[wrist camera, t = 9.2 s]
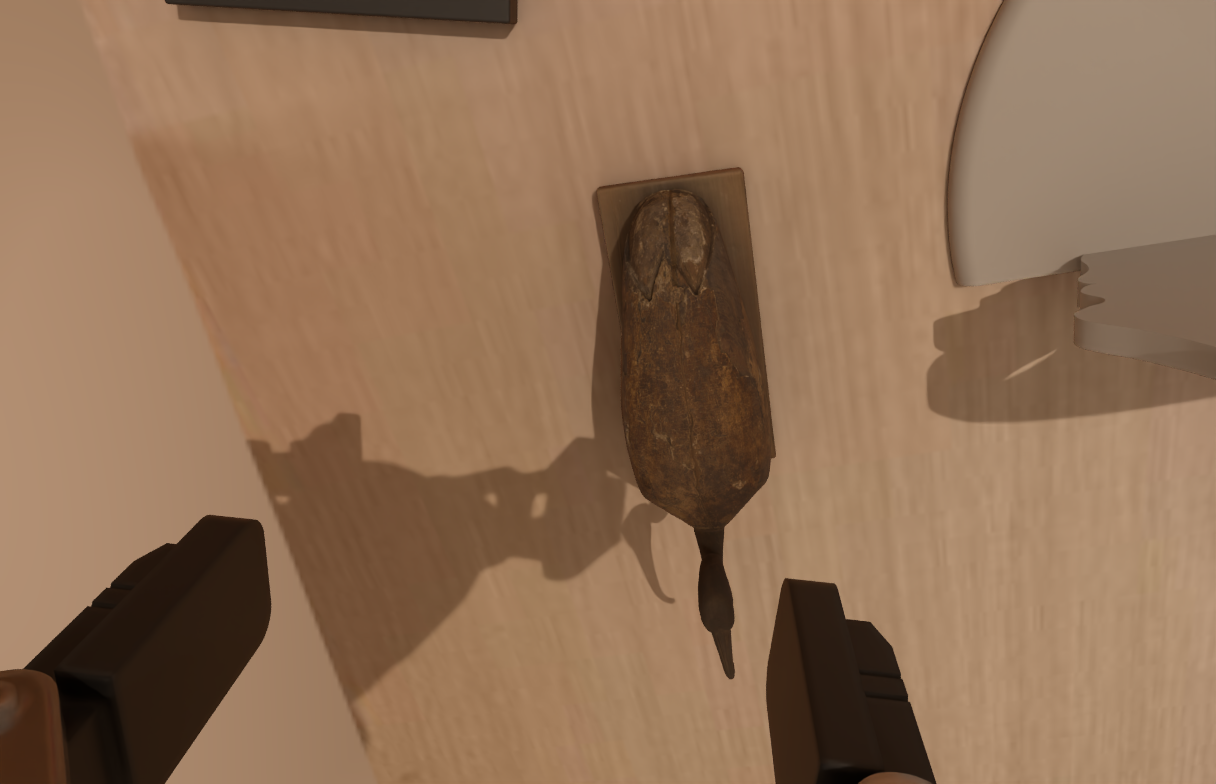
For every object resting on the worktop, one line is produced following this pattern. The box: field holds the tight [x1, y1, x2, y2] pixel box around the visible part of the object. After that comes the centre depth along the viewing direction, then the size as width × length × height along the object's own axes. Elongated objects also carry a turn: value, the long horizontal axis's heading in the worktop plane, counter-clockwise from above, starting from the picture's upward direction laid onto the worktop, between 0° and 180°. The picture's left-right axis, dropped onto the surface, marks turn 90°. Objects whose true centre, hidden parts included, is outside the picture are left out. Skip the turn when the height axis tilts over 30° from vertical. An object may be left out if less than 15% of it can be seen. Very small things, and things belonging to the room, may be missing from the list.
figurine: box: [597, 167, 776, 679], centre depth 25 cm, size 14×4×9 cm, turn 10°
